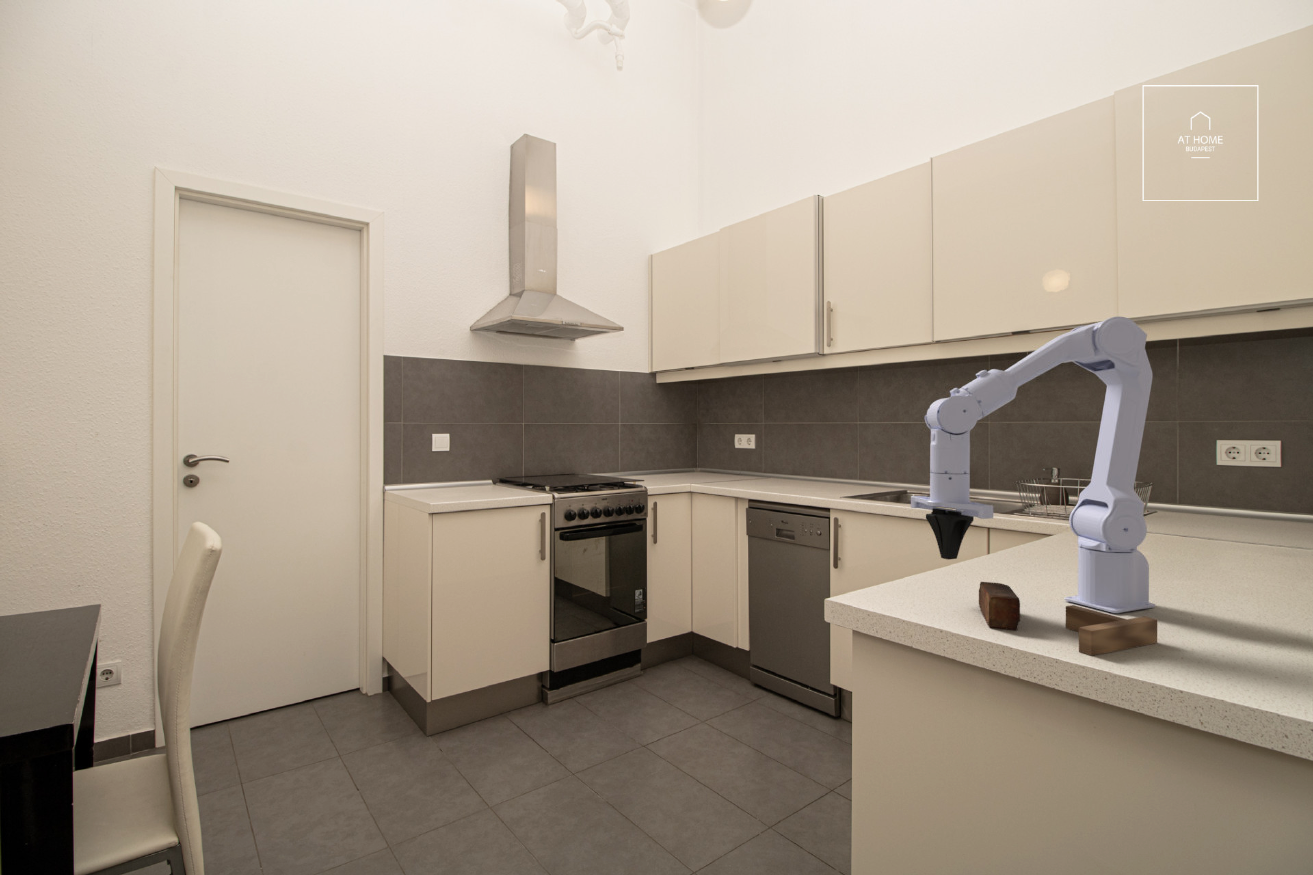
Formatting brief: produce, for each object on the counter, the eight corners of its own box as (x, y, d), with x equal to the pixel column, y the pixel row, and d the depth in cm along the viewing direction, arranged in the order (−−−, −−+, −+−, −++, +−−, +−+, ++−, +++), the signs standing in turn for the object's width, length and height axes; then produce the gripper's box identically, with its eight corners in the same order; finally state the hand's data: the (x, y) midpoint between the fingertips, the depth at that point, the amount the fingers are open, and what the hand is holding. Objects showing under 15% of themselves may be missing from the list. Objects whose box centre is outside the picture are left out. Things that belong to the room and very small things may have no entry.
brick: (1021, 632, 85) (1021, 598, 85) (988, 629, 86) (988, 595, 86) (1007, 611, 95) (1007, 580, 95) (978, 608, 96) (978, 578, 96)
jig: (1090, 623, 88) (1090, 602, 88) (1157, 642, 80) (1157, 619, 80) (1026, 634, 83) (1026, 611, 83) (1091, 655, 75) (1091, 631, 75)
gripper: (896, 470, 105) (896, 551, 105) (968, 476, 91) (967, 569, 91) (929, 469, 107) (928, 548, 107) (1004, 475, 94) (1003, 566, 94)
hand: (949, 558), depth 99 cm, fingers closed
